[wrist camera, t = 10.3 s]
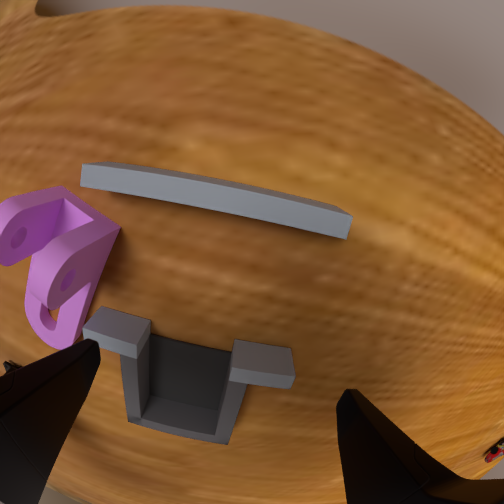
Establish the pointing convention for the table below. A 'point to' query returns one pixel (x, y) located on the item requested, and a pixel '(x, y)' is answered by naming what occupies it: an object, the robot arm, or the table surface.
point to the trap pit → (182, 389)
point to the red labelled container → (495, 452)
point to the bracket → (56, 257)
